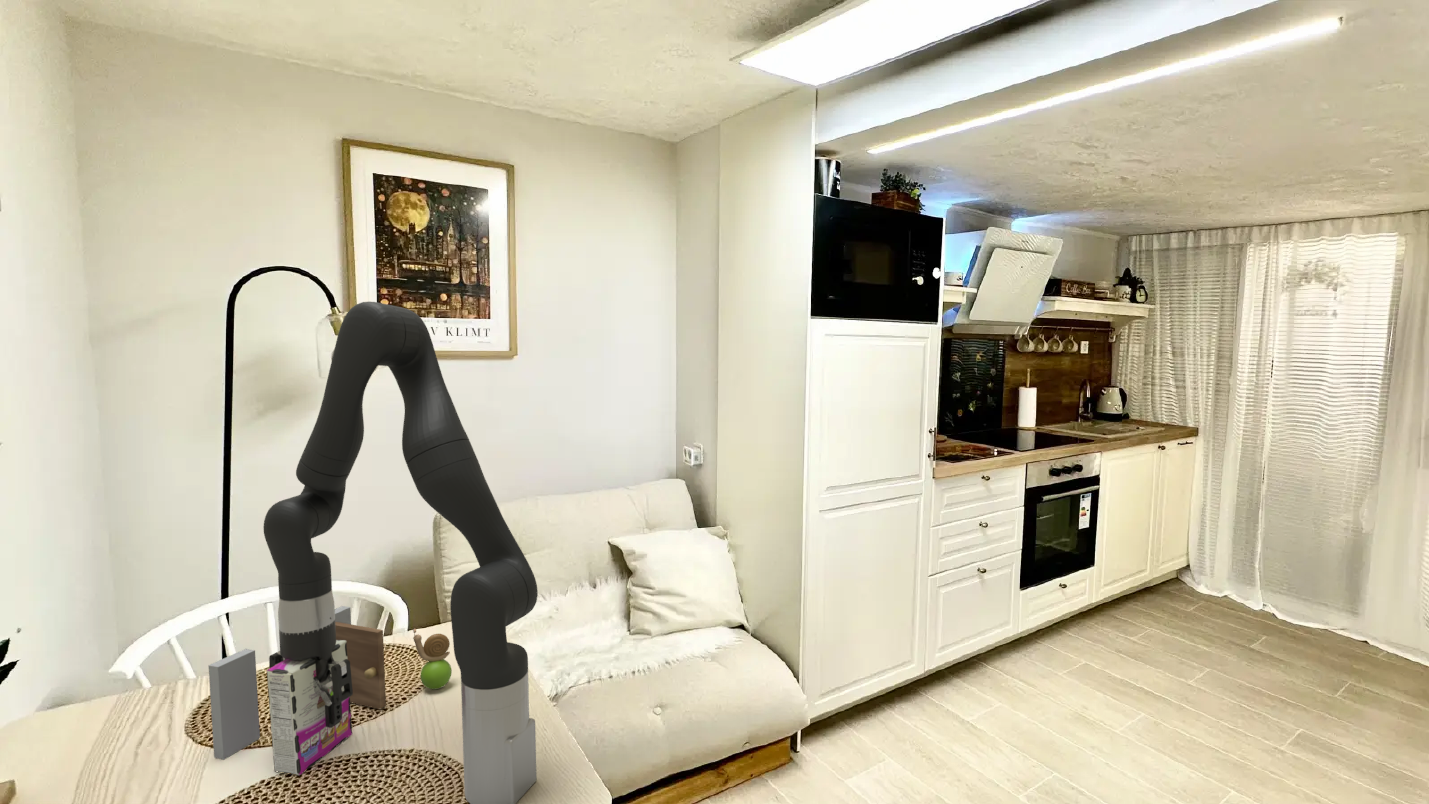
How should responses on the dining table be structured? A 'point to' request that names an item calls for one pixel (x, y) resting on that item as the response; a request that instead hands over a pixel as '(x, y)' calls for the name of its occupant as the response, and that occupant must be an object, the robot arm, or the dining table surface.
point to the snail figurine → (434, 660)
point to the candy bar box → (303, 714)
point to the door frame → (240, 698)
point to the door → (365, 663)
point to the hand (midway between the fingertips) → (312, 720)
